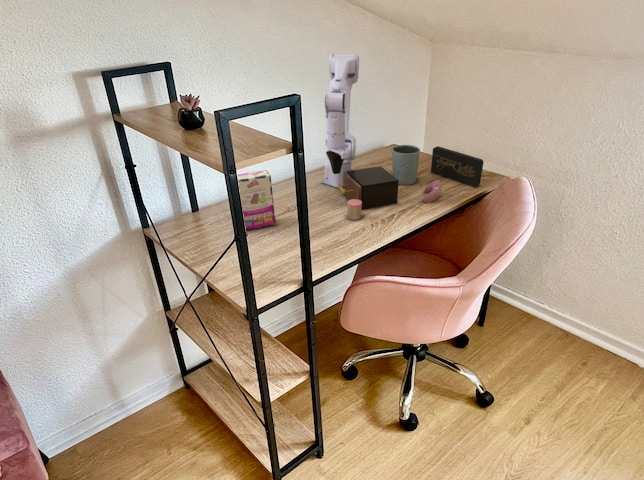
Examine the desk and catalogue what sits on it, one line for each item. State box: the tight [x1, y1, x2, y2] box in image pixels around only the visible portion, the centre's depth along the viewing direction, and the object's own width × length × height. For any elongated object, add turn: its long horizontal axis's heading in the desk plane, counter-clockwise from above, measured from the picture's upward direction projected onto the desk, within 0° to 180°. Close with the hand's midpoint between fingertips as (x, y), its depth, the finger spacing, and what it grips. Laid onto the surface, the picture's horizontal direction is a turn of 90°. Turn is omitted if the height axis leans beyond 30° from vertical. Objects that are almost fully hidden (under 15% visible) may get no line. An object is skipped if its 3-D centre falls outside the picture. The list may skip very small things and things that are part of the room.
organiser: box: [347, 165, 399, 211], centre depth 167 cm, size 13×14×8 cm
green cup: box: [391, 144, 421, 186], centre depth 179 cm, size 10×10×12 cm
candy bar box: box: [237, 169, 276, 231], centre depth 148 cm, size 11×5×16 cm, turn 114°
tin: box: [346, 199, 362, 221], centre depth 155 cm, size 5×5×5 cm
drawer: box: [336, 172, 362, 201], centre depth 166 cm, size 16×14×8 cm
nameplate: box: [430, 145, 484, 188], centre depth 181 cm, size 21×2×10 cm, turn 43°
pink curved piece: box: [422, 179, 443, 203], centre depth 168 cm, size 10×5×7 cm, turn 168°
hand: (336, 173), depth 162 cm, fingers closed
